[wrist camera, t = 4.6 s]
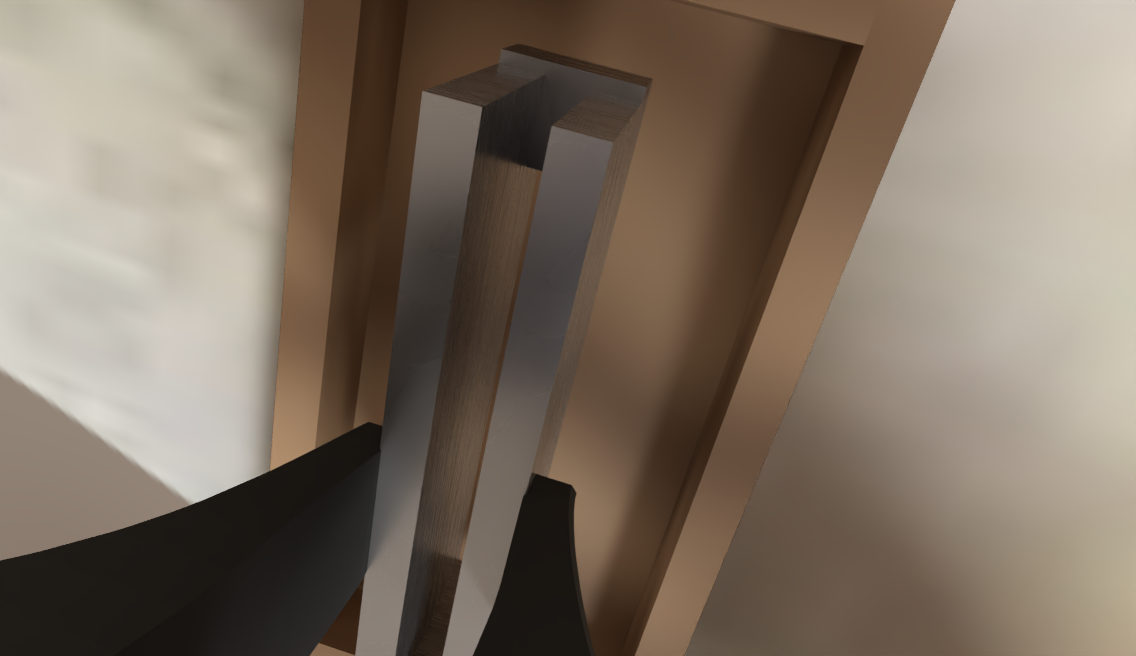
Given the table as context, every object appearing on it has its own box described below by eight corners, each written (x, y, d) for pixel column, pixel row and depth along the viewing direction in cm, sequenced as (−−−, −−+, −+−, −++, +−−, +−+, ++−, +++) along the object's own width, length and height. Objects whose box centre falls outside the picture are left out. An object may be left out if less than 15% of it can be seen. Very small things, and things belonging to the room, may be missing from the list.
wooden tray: (642, 692, 20) (632, 780, 18) (308, 580, 21) (256, 650, 18) (914, -1, 13) (960, -10, 10) (385, -131, 14) (317, -167, 11)
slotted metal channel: (505, 637, 17) (439, 832, 13) (420, 609, 18) (329, 793, 14) (652, 78, 11) (611, 132, 7) (518, 43, 11) (406, 77, 7)
